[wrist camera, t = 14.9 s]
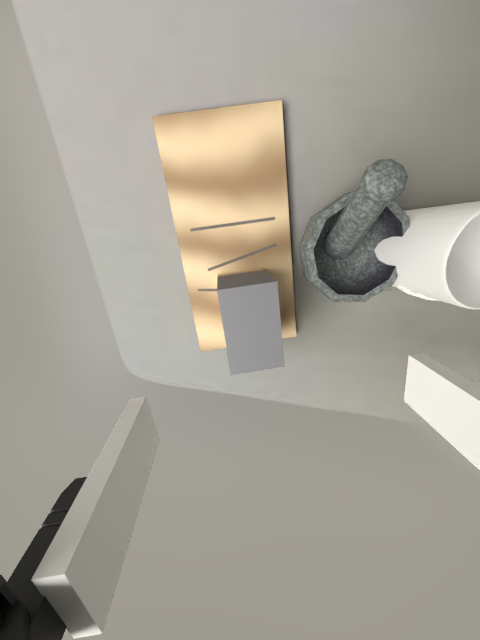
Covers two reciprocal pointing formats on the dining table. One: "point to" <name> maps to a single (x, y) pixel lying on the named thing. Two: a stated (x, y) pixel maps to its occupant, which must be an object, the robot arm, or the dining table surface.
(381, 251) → the mug
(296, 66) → the dining table surface
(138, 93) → the dining table surface
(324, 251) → the mortar and pestle
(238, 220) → the board
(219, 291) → the block
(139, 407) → the robot arm
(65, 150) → the dining table surface
